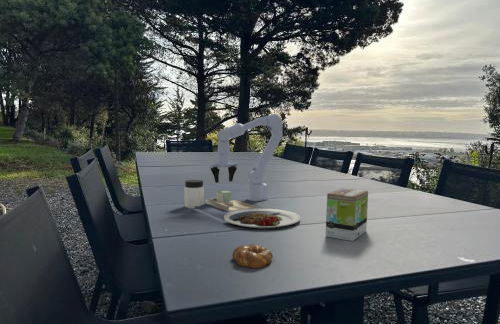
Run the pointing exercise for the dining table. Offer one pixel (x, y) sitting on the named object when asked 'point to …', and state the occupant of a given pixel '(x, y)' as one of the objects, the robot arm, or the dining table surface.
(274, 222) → the plated food
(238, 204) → the beige compartment tray
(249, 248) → the bagel
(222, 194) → the tea tin
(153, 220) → the dining table surface
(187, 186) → the jar
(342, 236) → the tea box
